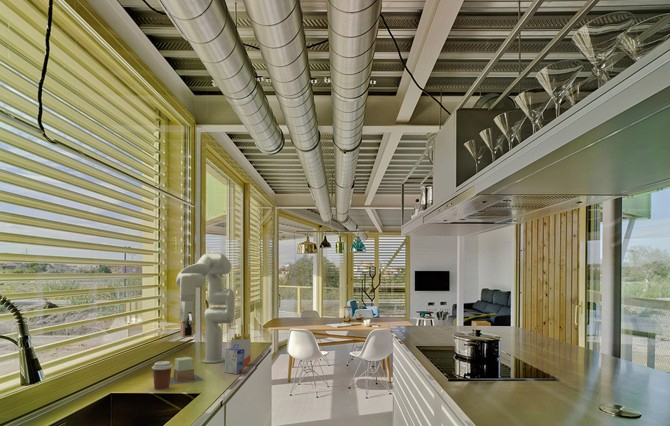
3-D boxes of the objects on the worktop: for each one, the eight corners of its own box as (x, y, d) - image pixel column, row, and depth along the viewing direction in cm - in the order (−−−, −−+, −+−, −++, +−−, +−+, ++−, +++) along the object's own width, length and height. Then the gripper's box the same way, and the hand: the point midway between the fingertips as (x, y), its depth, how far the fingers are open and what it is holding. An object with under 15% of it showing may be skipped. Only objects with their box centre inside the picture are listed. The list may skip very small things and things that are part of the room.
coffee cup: (167, 386, 224) (167, 359, 225) (175, 389, 217) (176, 362, 218) (147, 389, 217) (148, 362, 219) (155, 393, 211) (156, 365, 212)
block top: (174, 368, 237) (175, 358, 237) (189, 366, 240) (189, 356, 241) (178, 371, 231) (178, 360, 231) (192, 369, 234) (193, 358, 235)
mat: (163, 379, 238) (163, 378, 238) (195, 375, 246) (195, 374, 246) (170, 385, 224) (170, 384, 224) (204, 381, 232) (204, 380, 232)
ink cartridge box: (244, 372, 250) (245, 344, 252) (236, 374, 246) (237, 346, 247) (232, 370, 256) (232, 343, 258) (224, 372, 252) (224, 344, 253)
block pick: (180, 336, 239) (180, 322, 240) (190, 335, 242) (190, 321, 243) (182, 337, 235) (183, 323, 236) (193, 336, 238) (193, 322, 239)
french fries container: (230, 365, 270) (231, 333, 272) (250, 364, 272) (250, 332, 274) (230, 367, 265) (231, 334, 267) (250, 365, 268) (250, 333, 270)
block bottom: (173, 378, 236) (173, 368, 237) (189, 376, 240) (189, 366, 241) (177, 382, 230) (177, 371, 230) (193, 379, 234) (194, 369, 234)
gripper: (175, 297, 246) (174, 333, 244) (184, 299, 232) (183, 337, 230) (190, 297, 250) (189, 332, 248) (199, 298, 236) (199, 336, 233)
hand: (186, 334), depth 239 cm, fingers closed on block pick, 5 cm apart
